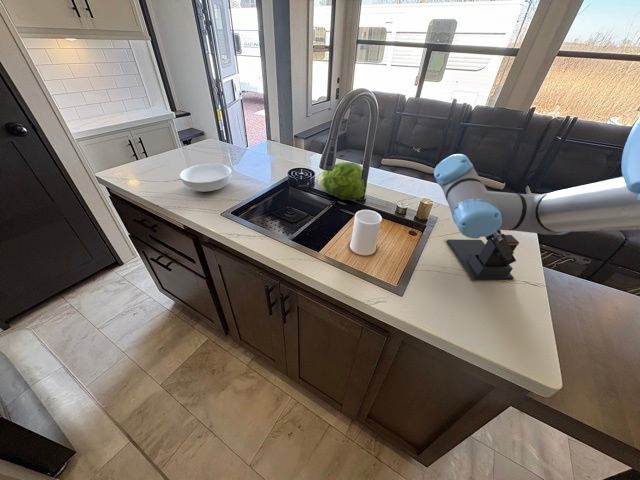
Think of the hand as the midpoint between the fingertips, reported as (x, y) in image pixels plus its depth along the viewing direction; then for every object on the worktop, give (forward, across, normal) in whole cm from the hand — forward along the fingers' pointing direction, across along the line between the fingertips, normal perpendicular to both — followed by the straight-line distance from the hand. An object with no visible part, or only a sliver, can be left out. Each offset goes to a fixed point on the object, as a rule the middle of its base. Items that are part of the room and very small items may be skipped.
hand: (505, 257), depth 74 cm
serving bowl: (-68, -52, -76) cm, 115 cm away
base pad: (+1, -5, -6) cm, 8 cm away
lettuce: (-27, -46, -35) cm, 64 cm away
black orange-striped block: (0, 0, -6) cm, 6 cm away
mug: (-24, -12, -32) cm, 42 cm away
